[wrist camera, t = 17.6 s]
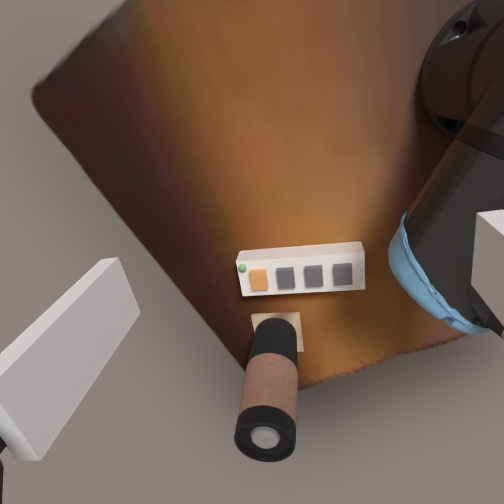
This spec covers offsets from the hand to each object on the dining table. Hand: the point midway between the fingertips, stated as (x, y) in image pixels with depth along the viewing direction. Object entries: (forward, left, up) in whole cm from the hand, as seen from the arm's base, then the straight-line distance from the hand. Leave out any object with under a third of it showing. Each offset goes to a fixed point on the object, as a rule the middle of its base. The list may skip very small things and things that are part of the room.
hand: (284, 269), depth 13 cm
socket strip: (+2, +20, -37) cm, 42 cm away
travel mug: (+7, +33, -36) cm, 49 cm away
